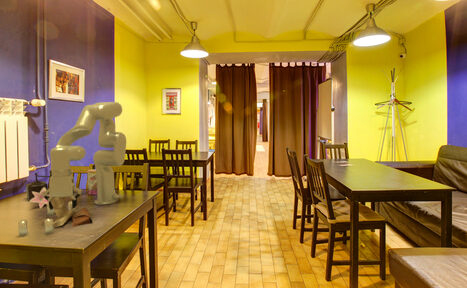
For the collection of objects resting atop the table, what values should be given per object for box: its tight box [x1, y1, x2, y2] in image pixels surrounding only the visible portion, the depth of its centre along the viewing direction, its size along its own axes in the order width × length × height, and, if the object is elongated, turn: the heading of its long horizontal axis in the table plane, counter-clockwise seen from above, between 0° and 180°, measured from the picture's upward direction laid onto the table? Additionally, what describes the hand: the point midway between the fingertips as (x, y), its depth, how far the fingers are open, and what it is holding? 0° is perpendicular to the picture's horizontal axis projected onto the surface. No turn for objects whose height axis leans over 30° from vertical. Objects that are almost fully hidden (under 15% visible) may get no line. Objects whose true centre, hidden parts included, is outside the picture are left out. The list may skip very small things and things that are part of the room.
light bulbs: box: [17, 200, 76, 237], centre depth 127 cm, size 13×29×6 cm, turn 12°
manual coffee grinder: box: [25, 169, 52, 202], centre depth 170 cm, size 16×11×18 cm
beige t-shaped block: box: [50, 197, 76, 229], centre depth 128 cm, size 4×16×12 cm, turn 11°
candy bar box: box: [86, 169, 97, 196], centre depth 177 cm, size 11×5×16 cm, turn 86°
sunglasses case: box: [70, 207, 93, 228], centre depth 132 cm, size 18×7×7 cm, turn 36°
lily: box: [29, 188, 50, 209], centre depth 154 cm, size 12×12×10 cm
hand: (63, 208), depth 128 cm, fingers open, 9 cm apart
